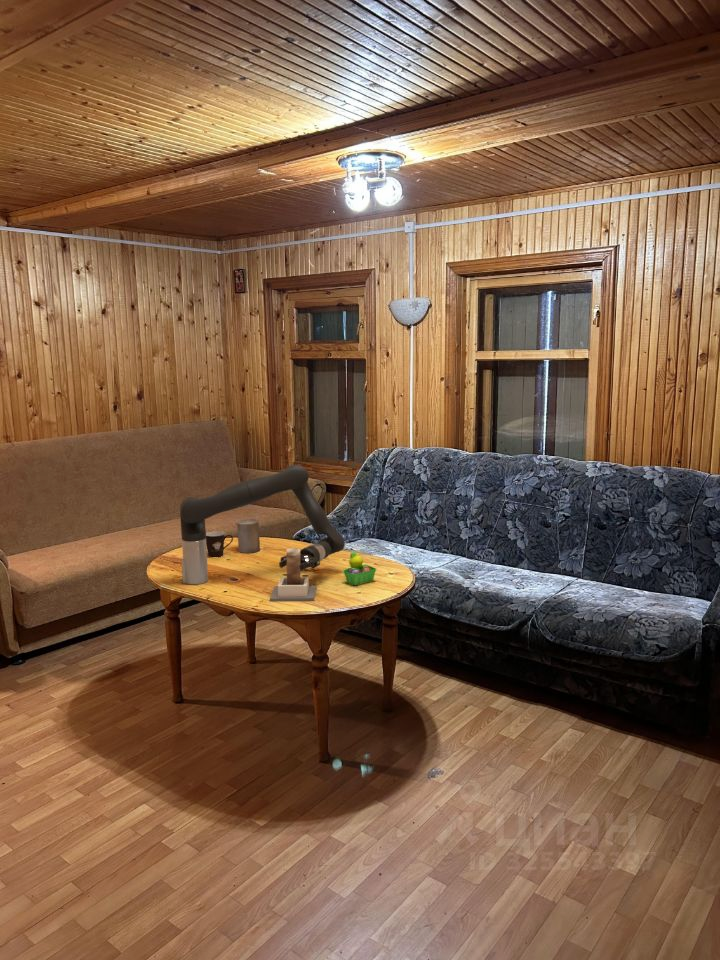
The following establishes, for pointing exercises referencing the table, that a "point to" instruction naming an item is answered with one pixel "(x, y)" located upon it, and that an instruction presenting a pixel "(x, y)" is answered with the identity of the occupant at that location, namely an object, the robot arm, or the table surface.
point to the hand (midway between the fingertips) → (290, 566)
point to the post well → (293, 591)
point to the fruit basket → (358, 571)
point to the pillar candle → (248, 535)
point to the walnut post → (293, 566)
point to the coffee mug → (216, 543)
